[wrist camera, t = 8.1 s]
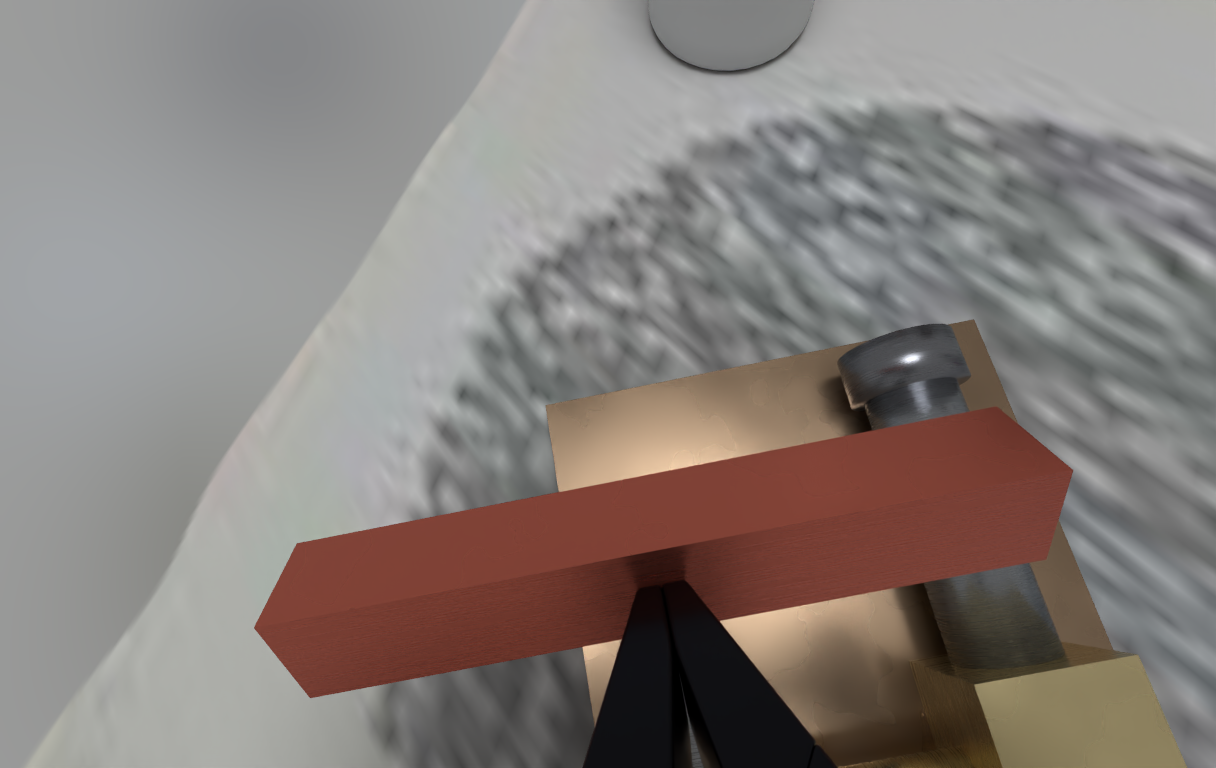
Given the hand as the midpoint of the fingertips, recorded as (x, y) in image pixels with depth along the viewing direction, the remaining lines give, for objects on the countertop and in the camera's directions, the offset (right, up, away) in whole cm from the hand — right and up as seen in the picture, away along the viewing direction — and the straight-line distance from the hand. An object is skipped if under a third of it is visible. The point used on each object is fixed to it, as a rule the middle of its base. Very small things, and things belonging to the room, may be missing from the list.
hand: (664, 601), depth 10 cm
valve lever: (+2, -9, +7) cm, 11 cm away
